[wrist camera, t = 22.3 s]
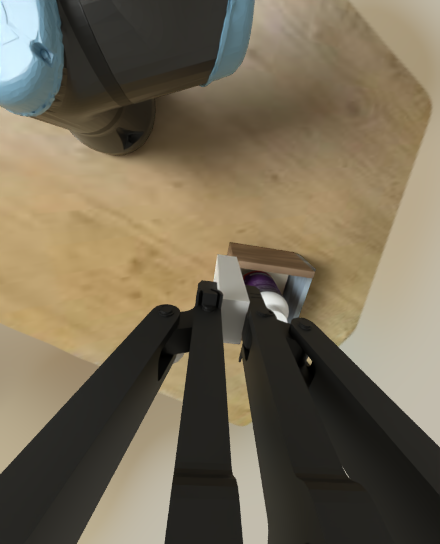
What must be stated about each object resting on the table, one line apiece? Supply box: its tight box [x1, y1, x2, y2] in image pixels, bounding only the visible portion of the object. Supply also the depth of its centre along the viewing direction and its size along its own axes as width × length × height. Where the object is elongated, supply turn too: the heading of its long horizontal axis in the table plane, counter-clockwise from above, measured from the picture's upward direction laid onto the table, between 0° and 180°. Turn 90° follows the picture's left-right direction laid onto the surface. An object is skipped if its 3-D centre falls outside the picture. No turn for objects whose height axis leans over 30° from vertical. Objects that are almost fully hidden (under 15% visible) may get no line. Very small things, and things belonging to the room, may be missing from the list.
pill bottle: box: [242, 270, 289, 323], centre depth 41 cm, size 8×8×14 cm
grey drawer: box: [240, 254, 316, 323], centre depth 46 cm, size 16×15×8 cm
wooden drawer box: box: [227, 242, 315, 341], centre depth 45 cm, size 16×14×11 cm
